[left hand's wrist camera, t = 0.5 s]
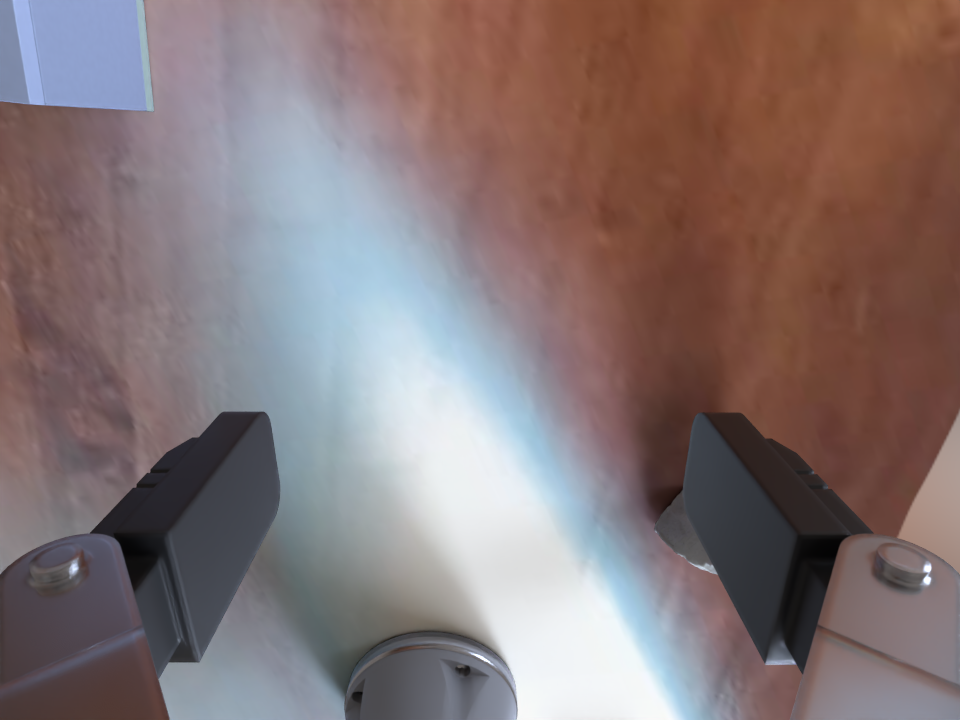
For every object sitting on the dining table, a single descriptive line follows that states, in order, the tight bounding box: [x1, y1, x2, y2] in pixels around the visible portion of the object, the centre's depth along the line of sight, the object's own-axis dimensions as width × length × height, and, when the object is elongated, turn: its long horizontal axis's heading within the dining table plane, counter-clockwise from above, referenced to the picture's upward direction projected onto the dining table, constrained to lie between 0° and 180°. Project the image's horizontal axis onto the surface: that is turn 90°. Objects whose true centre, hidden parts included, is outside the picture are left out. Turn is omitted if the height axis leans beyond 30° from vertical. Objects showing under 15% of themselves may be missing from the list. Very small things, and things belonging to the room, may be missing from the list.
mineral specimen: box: [654, 490, 717, 574], centre depth 42 cm, size 7×9×8 cm
